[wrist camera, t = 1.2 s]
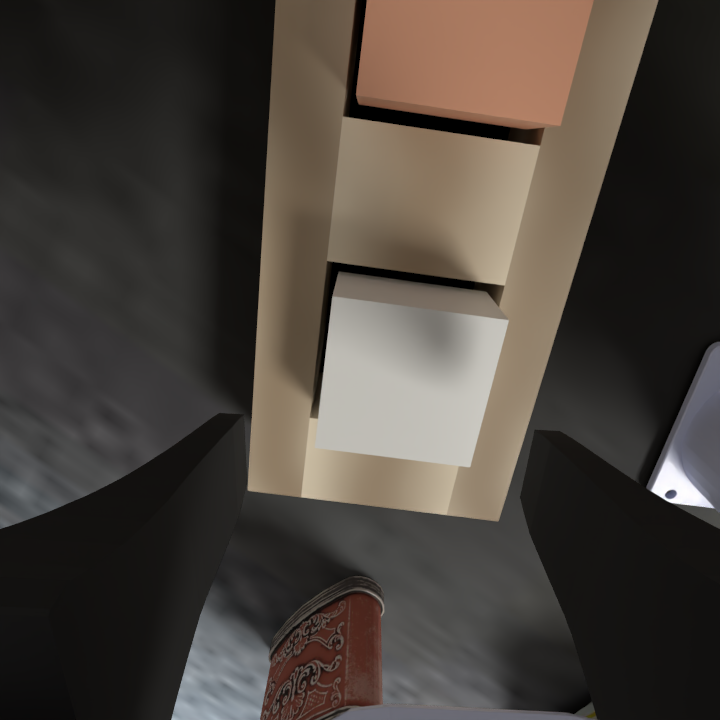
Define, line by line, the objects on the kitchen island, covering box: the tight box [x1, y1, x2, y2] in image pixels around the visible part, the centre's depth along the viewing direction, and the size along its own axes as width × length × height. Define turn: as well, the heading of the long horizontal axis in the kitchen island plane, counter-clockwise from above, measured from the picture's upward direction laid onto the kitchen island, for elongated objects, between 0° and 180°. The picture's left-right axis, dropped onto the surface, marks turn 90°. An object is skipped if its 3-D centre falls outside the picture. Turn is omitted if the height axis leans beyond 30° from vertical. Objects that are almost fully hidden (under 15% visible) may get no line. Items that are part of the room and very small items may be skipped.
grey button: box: [315, 271, 509, 467], centre depth 16 cm, size 5×5×3 cm
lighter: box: [260, 576, 384, 720], centre depth 23 cm, size 8×3×10 cm, turn 138°
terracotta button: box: [356, 0, 594, 129], centre depth 13 cm, size 5×5×3 cm
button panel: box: [248, 0, 658, 521], centre depth 17 cm, size 10×23×4 cm, turn 172°
